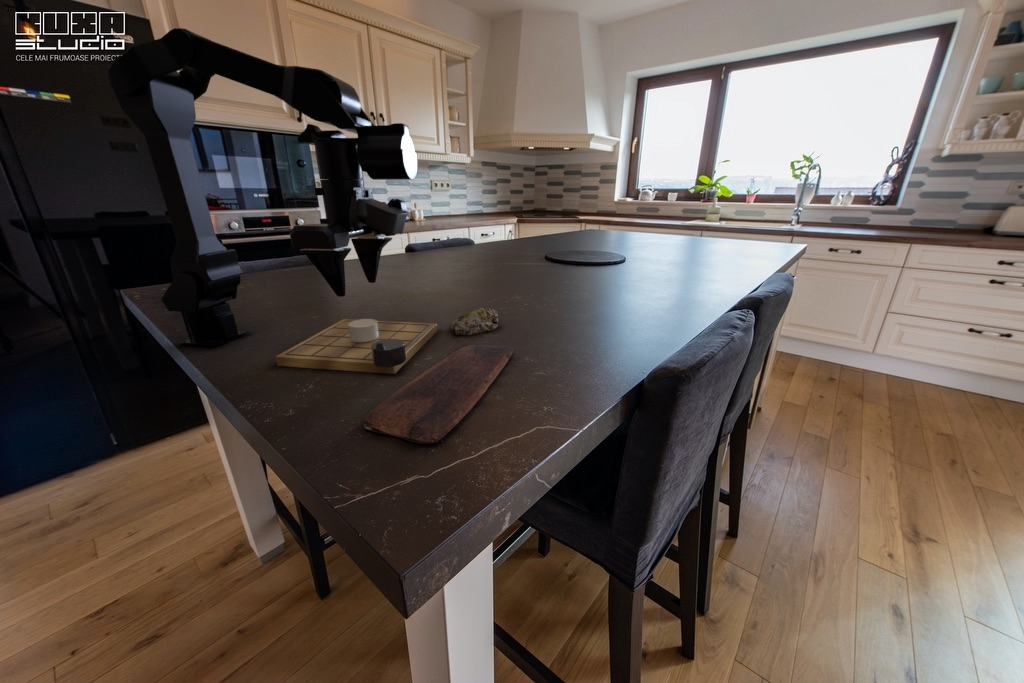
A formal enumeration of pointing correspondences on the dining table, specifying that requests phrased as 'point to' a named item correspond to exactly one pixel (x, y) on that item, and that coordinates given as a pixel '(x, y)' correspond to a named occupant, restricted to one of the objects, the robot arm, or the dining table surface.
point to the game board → (354, 347)
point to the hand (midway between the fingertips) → (357, 289)
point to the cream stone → (363, 330)
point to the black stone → (388, 352)
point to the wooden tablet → (439, 395)
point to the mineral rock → (476, 322)
